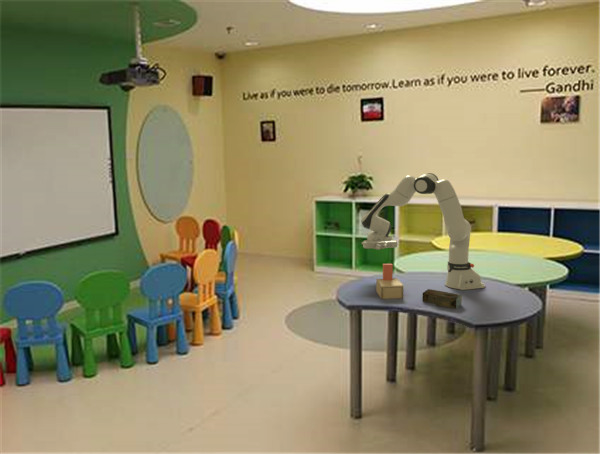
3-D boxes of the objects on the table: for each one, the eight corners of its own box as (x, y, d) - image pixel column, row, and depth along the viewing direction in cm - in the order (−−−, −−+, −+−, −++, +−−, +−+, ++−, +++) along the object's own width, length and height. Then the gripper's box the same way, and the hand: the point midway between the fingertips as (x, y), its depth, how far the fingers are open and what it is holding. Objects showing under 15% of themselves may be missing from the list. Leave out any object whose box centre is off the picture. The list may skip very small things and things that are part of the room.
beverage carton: (456, 309, 287) (456, 297, 286) (421, 303, 298) (421, 291, 297) (461, 305, 294) (462, 293, 293) (427, 299, 305) (427, 288, 304)
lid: (376, 280, 316) (376, 263, 314) (397, 279, 317) (397, 262, 315) (381, 287, 302) (381, 270, 301) (403, 286, 303) (403, 269, 301)
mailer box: (376, 292, 318) (376, 280, 316) (397, 292, 318) (397, 280, 317) (381, 300, 304) (381, 288, 303) (403, 299, 305) (403, 287, 303)
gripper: (360, 237, 337) (365, 242, 324) (394, 236, 338) (399, 241, 325) (360, 247, 338) (364, 252, 325) (394, 246, 340) (399, 251, 326)
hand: (382, 246), depth 325 cm, fingers closed
